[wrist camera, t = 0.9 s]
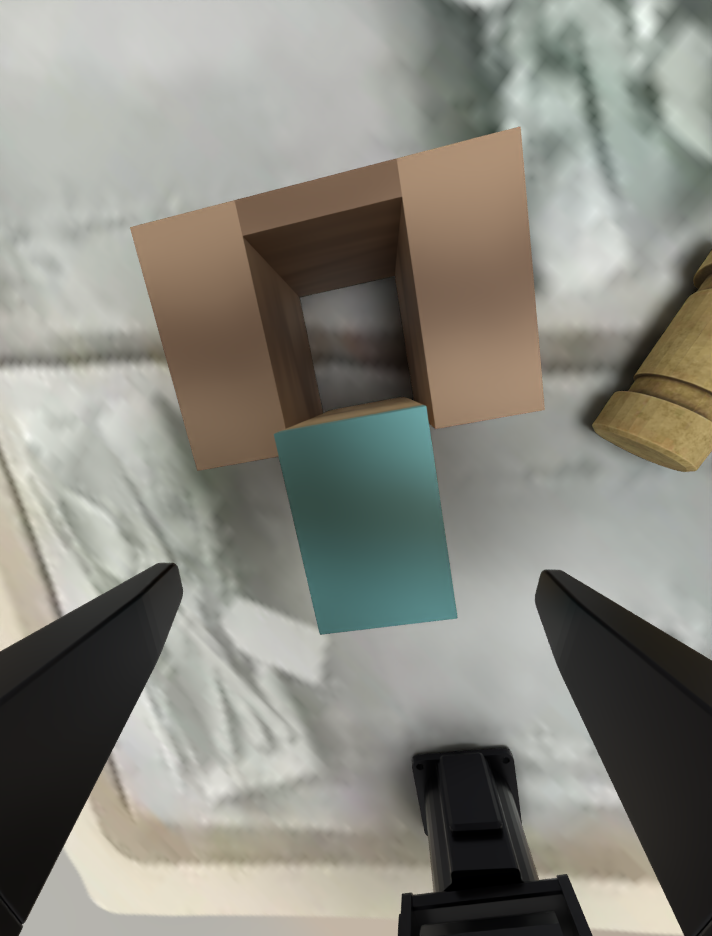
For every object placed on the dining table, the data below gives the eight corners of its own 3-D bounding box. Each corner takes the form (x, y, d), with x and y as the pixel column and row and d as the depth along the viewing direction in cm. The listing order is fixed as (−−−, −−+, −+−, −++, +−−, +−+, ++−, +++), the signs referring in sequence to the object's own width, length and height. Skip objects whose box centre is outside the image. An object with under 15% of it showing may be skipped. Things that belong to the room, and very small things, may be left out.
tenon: (420, 502, 21) (457, 618, 10) (351, 512, 22) (319, 635, 11) (403, 396, 20) (426, 406, 9) (331, 410, 20) (273, 434, 10)
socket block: (481, 401, 20) (544, 410, 12) (266, 440, 21) (197, 470, 13) (461, 238, 18) (520, 126, 10) (231, 291, 20) (129, 227, 12)
